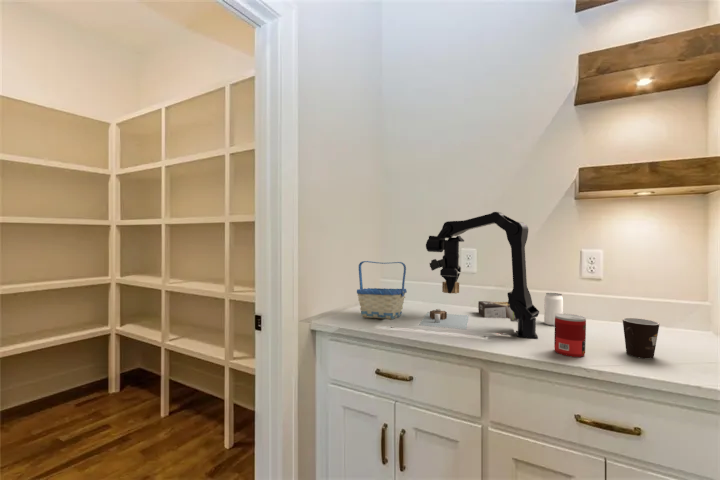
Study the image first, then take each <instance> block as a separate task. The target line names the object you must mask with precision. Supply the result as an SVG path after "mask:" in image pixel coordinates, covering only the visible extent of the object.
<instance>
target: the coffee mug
mask: <svg viewBox="0 0 720 480" xmlns="http://www.w3.org/2000/svg"><path fill="white" fill-rule="evenodd" d="M622 325H623V334H624V344H625V353H626V354H627V355H629V356H630V357H634V358H638V357H640V358H639V359H645V358H652V359H654V358H653V357H655V350H656V346H657V340H658V335H659V330H660V329H659V328H660V323H659V322H658V321H654V320H652V319H645V318H638V317H623V318H622Z"/></svg>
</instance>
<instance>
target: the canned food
mask: <svg viewBox="0 0 720 480" xmlns="http://www.w3.org/2000/svg"><path fill="white" fill-rule="evenodd" d="M586 333H587V318H586V317H585V316H583V315H578V314H572V313H563V314H556V315H555V326H554V342H553V343H554V346H553V348H554V351H555V353H557V354H559V355H561V354H562V355H561V356H565V355H566V357H570V356H572V358H581V356H582V357H584V356H585V354H586V336H587V334H586Z"/></svg>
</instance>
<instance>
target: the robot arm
mask: <svg viewBox="0 0 720 480" xmlns="http://www.w3.org/2000/svg"><path fill="white" fill-rule="evenodd" d="M490 225H496V226H498V228H500V229H502V230H503V231H505V234H506V238H507V241H508V243H509V246H510V248H511V249H510V250H511V251H510V252H511V267H512V268H511V269H512V285H513V286H512V290H511V291H509V292H507V299H508V301H507V302H508V304H510V309H511V310H512V311H513V312H514V314H515V317H516V319H518V321H517V330H515V334H516V336H517V337H518V338H519V337H520V338H527V339H528V338H531V339H538V338H539V336H538V334H537V333H536V332H537V331H536V330H537V326H536V325H537V317H539V314H540V310H539V309H537V307H536V306H535V305H534V304H533V300H532V296H531V293H530V291H529V288H528V283H527V267H526V262H527V261H526V244H527V240H528V235H529V227H528V225H527V224H526V223H524V222H522V221H516V220H515V219H513V218H511V217H509V216H507V215H505V214H504V213H502V212H499V211H493V212H491V213H487V214H484V215H479V216H476V217H472V218H468V219H465V220H451V221H450V220H449V221H445V222H444V223H443V225H442V227H441V230H440V231H439V232H438V234H437V235H428V239H427V240H426V243H425V248H426V251H427V252H428V253H442V252H443V255H442V258H441V259H436V258H434V259H431V262H429V268H430V270H431V271H435V270H436V269H440V268H441V269H440V271H439V272H440V274H439V276H441V278H443V279H444V280H445V281H446V284H447V289H448V293H447V294H450V293H451V292H452V290H453V287H454V285H455V282H458V279H459V276H460V275H461V272H462V267H461V265H459V260H460V250H459V249H460V243H464V242H465V239H464V238H463V237H461V235H462V234H464V233H465V232H467V231H469V230H474V229H478V228H483V227H486V226H490ZM451 294H452V293H451Z"/></svg>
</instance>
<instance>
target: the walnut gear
mask: <svg viewBox="0 0 720 480" xmlns="http://www.w3.org/2000/svg"><path fill="white" fill-rule="evenodd" d="M429 312H430V318H431V319H435V314H440V319H442V320H444V319H447V314H448V313H447V311H446V310H441V309H440V308H437V309H433V310H430V311H429Z"/></svg>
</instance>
